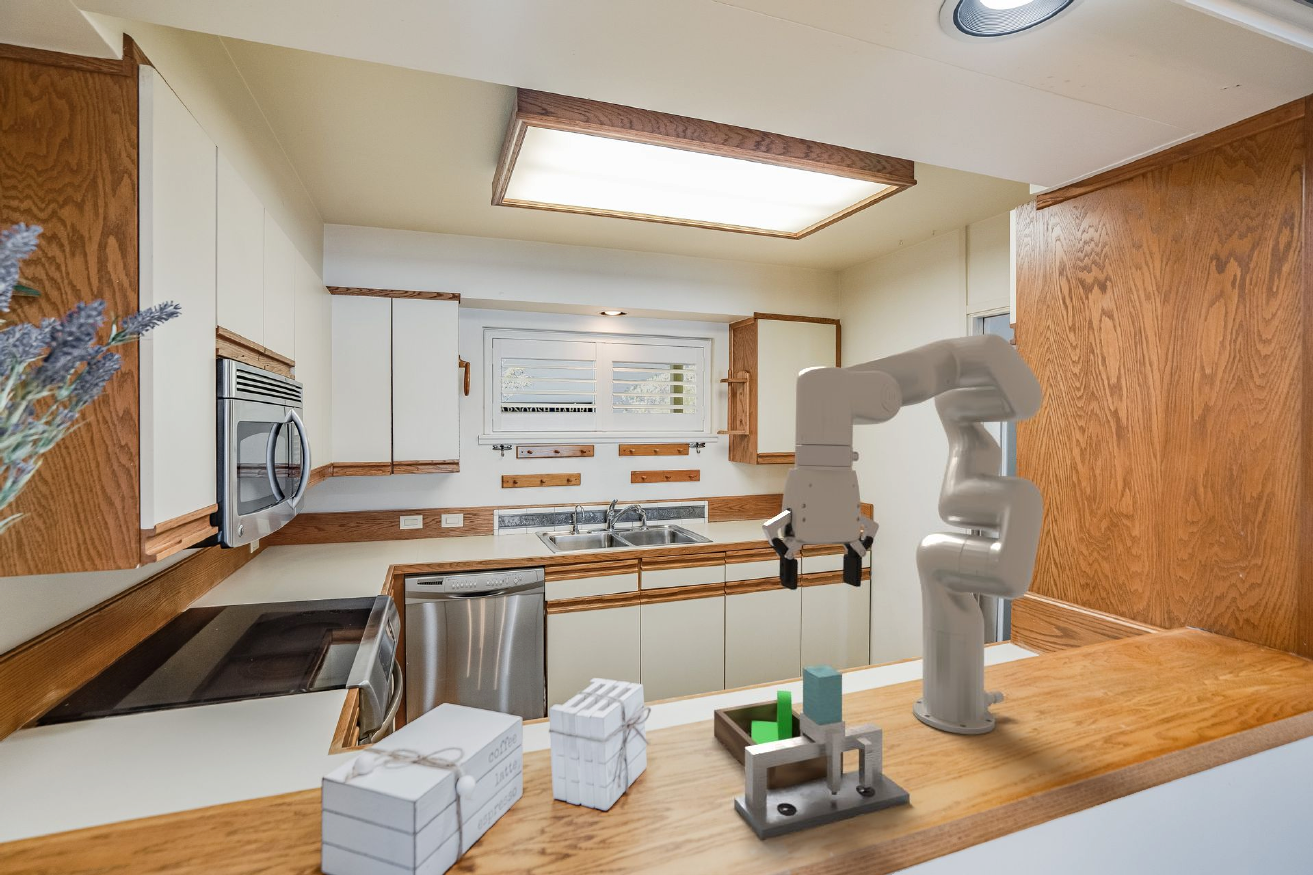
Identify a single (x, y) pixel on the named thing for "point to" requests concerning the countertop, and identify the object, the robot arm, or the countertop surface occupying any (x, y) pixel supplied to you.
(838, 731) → the sliding leg
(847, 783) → the bolt plate
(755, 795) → the metal bridge frame
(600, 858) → the countertop surface
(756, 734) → the mechanical part
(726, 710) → the parts tray
